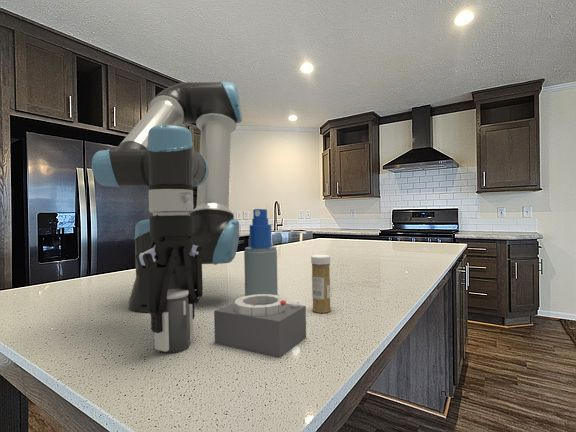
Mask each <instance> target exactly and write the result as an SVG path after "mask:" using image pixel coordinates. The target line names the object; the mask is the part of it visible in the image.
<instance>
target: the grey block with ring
mask: <svg viewBox="0 0 576 432" xmlns="http://www.w3.org/2000/svg"><path fill="white" fill-rule="evenodd" d="M286 300H287V299H286V297H284V296H281V295H271V294H256V295H248V296H245V295H244V296H241V297H237V298H236V299H235V301H234V302H232V303H229V304H227V305H225V306H222V307H219V308H217V309H215V310H214V311H213V315H214V317H213V319H214V321H213V323H214V324H213V325H214V326H213V327H214V329H213V330H214V344H219V345H223V346H227V347H232V348H237V349H241V350H245V351H249V352H254V353H259V354H264V355H268V356H272V357H277V358H282V356H284V355H285V354H286V353H288V352H289V351H290V350H291V349H293V348H295V347H296V346H297V345H298V344H300V343H301V342H302V341H303V340H305V339H307V309H306V307H307V306H306V305H300V302H298V301H292V302H290V303H287V301H286Z"/></svg>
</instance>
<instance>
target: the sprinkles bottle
mask: <svg viewBox="0 0 576 432" xmlns="http://www.w3.org/2000/svg"><path fill="white" fill-rule="evenodd" d="M310 257H311V258H310V263H311V274H312V275H311V290H312V291H311V292H312V293H311V295H312V308H311V309H312V311H313V312H314V313H319V314H326V313H330V312H331V311H332V307H331V277H330V276H331V274H330V272H331V271H330V264H331V256H330V255H328V254H313V255H311V256H310Z"/></svg>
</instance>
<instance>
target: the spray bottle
mask: <svg viewBox="0 0 576 432" xmlns="http://www.w3.org/2000/svg"><path fill="white" fill-rule="evenodd" d="M252 211H253V214H252V218H251V220H252V221H251V222H252V223H251V224H250V225H249V246H247V247H244V253H243V255H244V296H248V295H256V294H271V295H278V289H279V288H278V250H277V247H276V246H272V224H269V218H268V210H267V208H266V209H263V208H255V209H253V210H252Z"/></svg>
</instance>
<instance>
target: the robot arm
mask: <svg viewBox="0 0 576 432" xmlns="http://www.w3.org/2000/svg"><path fill="white" fill-rule="evenodd" d="M241 108H242V107H241V102H240V96H239V91H238V87H237V85H236V84H235V83H233V82H232V81H231V82H230V81H229V82H228V81H223V80H221V81H219V82H218V81H217V82H215V81H214V82H213V81H211V82H206V81H205V82H203V81H200V82H199V81H198V82H197V81H196V82H193V81H192V82H189V81H187V82H179V83H177V84H174V85H171V86H169V87H167V88H165V89H163V90H162V91H160V92H159V93H158V94H156V95H155V96H154V98H153V99H151V101H150V103H149V105H148V111H147V112H146V113H145V114H144V116H142V118H140V120H139V121H138V122H137V124H136V125H134V127H133V128H132V129H131V131H130V132H129V133H128V134H127V135H126V136H125V138H124V139H123V140H122V141H121V142H120V143H119V145H117V147H116V148H115V149H110V148H109V149H108V148H107V149H106V150H105V149H102V150H98V151H97V152H95V153H94V154H93V156H92V160H91V170H92V171H91V172H92V174H93V177H94V180H95V181H96V182H97V183H98V184H99V185H100V186H103V187H117V188H121V187H122V188H124V187H128V188H129V187H148V212H149V213H152V215H151V216H150V218H148V219H143V220H140V221H138V222H137V223H136V224H135V229H134V231H135V232H134V237H133V239H134V253H135V254H134V257H135V278H134V280H135V281H134V282H133V286H132V289H131V293H130V296H129V298H128V299H129V300H128V308H129V310H130V311H134V312H138V313H139V312H140V313H149V314H150V325H151V327H150V329H151V332H152V333H154V334H153V335H154V337H153V338H154V350H158V351H160V350H161V351H165V352H166V351H168V350H169V320H168V312H164V309H165V303H166V298H167V292H168V290H170V289H186V290H188V291H189V295H188V313H189V341H192V340H194V324H193V323H194V321H193V320H195V316H196V315H195V304H198V303H199V301H200V299H199V298H202V297H203V294H204V293H203V288H204V287H203V265H216V266H217V265H222V264H229V263H231V262H233V260H234V259H235V257H236V254H237V253H238V246H239V241H240V240H239V239H240V222H239V220H238V219H236V218H234V217H235V216H234V212H232V211H231V210H230V208H229V206H230V205H229V200H230V198H229V197H230V170H231V169H230V168H231V167H230V166H231V140H232V139H231V137H232V133H234V132H235V131H236V128H237V124H240V123H242V120H243V115H242V110H241ZM183 124H195V125H196V128H198V129H199V130H200V138H199V139H200V140H199V141H200V142H199V143H200V144H199V152H198V151H195V150H194V149H193V147H194V142H193V134H192V132H191V130H190V129H188V128H187V127H184V126H181V125H183ZM195 187H197V190H196V191H197V193H196V207H195V208H194V188H195ZM161 351H160V352H161Z"/></svg>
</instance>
